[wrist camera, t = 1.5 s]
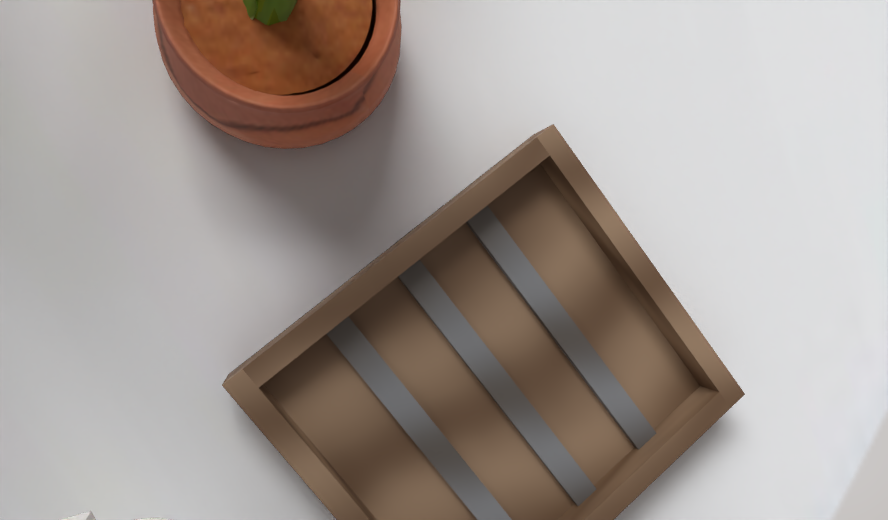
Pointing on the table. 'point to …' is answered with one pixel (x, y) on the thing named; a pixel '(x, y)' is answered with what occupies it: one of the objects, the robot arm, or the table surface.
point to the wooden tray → (492, 362)
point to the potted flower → (280, 64)
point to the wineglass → (153, 519)
